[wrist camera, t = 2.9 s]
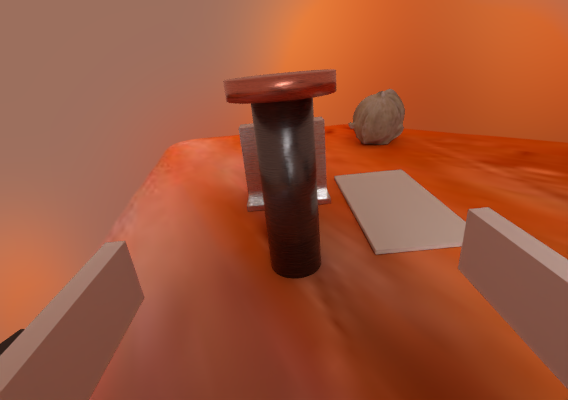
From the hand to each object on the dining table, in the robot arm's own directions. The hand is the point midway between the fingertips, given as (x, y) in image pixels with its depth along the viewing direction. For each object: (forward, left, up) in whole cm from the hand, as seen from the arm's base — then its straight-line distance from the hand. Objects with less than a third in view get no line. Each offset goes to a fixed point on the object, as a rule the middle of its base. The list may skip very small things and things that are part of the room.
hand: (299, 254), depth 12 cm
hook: (0, -19, -8) cm, 21 cm away
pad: (-11, -20, -8) cm, 24 cm away
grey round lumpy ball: (-17, -45, -8) cm, 49 cm away
